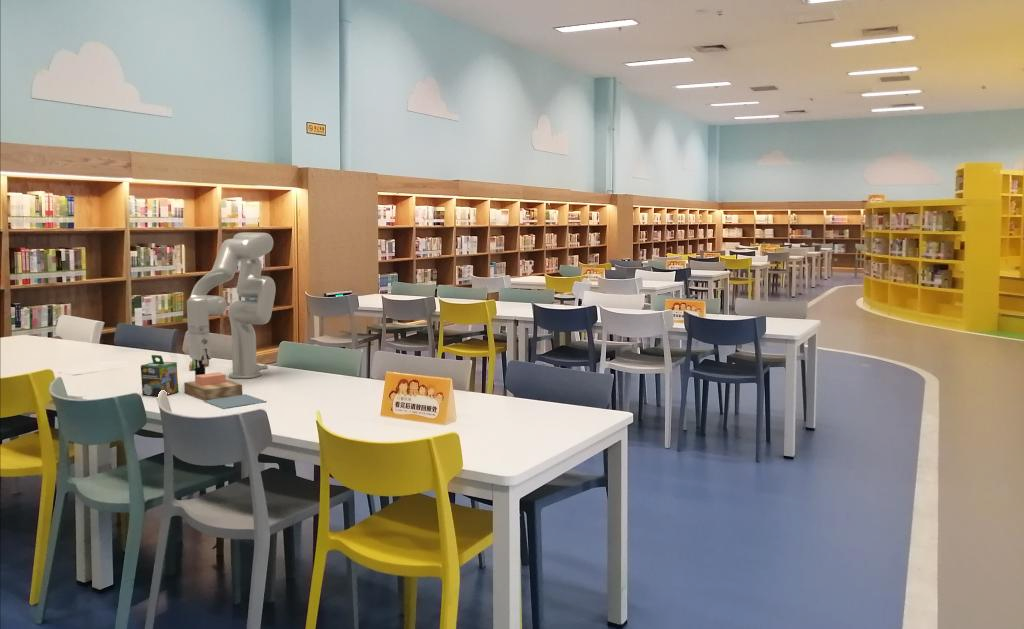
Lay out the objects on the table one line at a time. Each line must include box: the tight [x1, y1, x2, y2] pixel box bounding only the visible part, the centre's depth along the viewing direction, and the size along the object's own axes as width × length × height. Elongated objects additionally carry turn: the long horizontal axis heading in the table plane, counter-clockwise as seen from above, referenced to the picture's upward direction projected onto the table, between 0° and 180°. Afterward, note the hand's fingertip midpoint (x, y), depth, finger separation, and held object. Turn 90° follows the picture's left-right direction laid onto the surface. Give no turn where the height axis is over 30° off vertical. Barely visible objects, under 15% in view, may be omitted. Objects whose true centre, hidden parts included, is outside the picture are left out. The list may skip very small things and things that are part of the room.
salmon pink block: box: [194, 372, 227, 386], centre depth 297 cm, size 9×6×3 cm, turn 135°
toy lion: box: [188, 359, 210, 371], centre depth 350 cm, size 16×5×15 cm, turn 6°
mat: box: [202, 393, 264, 410], centre depth 284 cm, size 16×16×1 cm
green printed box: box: [140, 354, 179, 397], centre depth 296 cm, size 9×9×15 cm
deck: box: [183, 379, 243, 401], centre depth 296 cm, size 14×18×4 cm
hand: (200, 377), depth 304 cm, fingers closed
